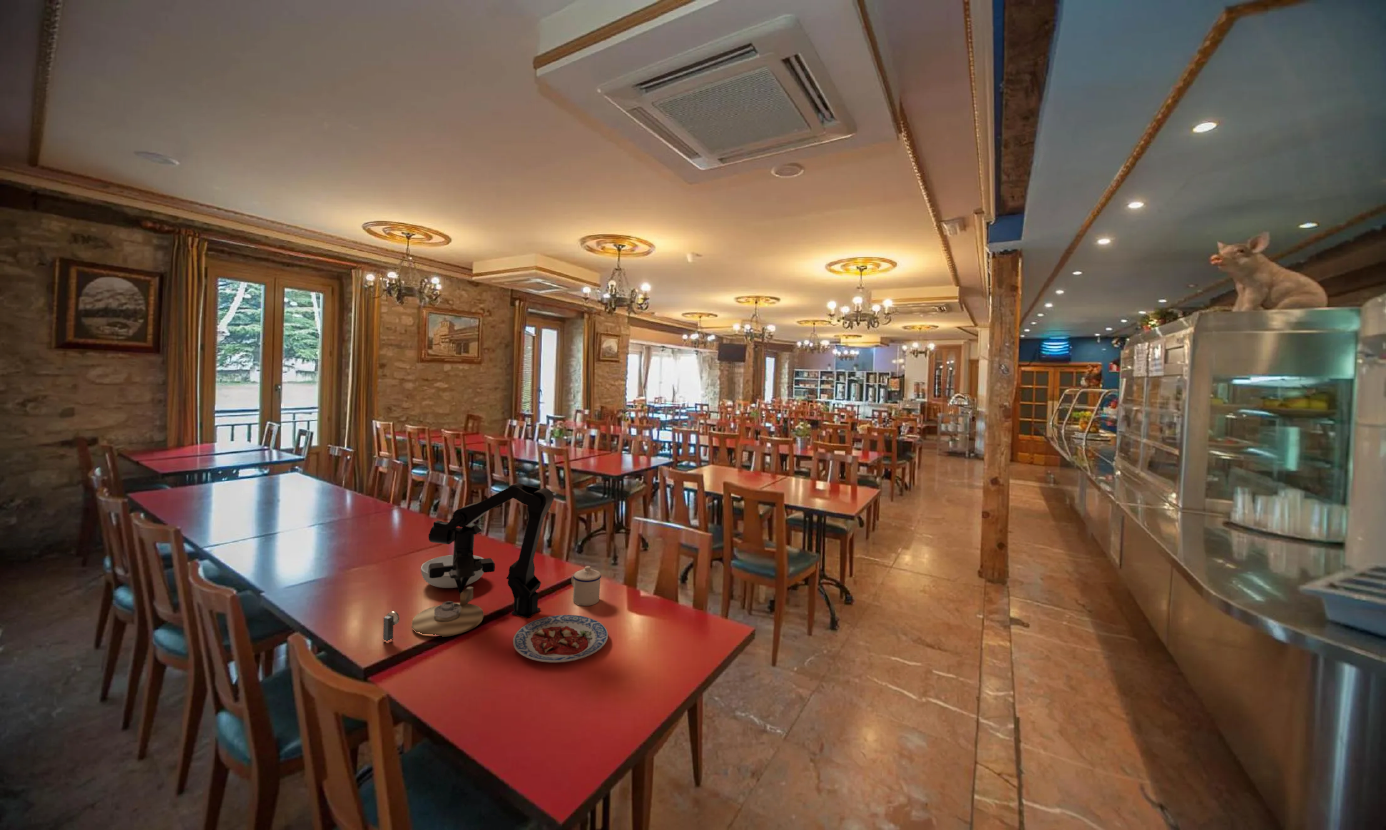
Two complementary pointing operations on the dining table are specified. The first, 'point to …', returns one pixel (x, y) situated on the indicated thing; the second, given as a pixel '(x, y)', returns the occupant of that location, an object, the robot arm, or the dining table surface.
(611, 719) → the dining table surface
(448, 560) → the serving bowl
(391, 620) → the dial gauge
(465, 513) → the robot arm
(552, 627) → the ceramic plate
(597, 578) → the teacup with lid
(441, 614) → the cover
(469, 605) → the tan piece
